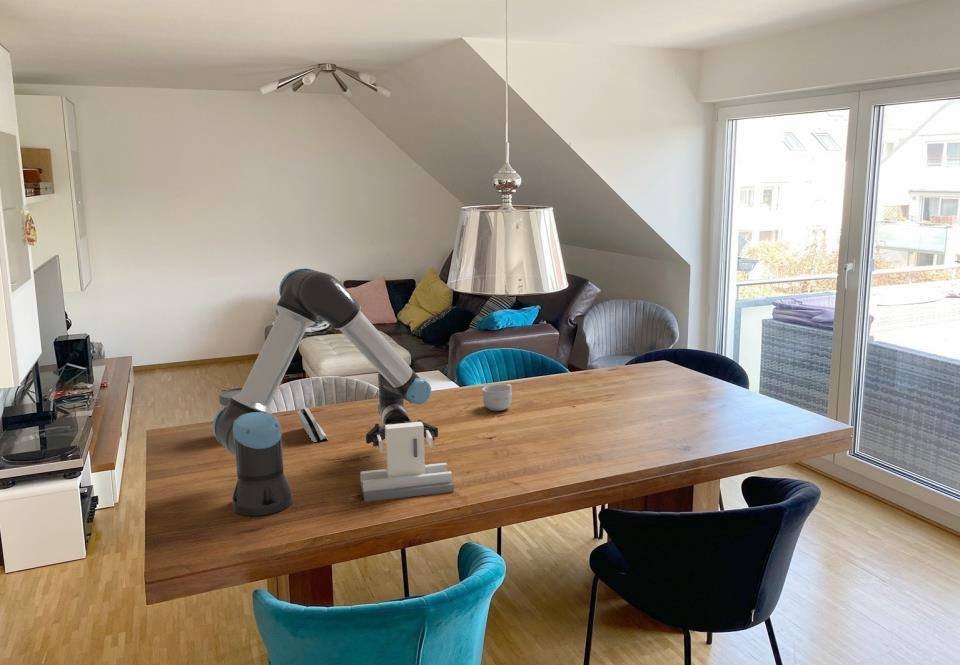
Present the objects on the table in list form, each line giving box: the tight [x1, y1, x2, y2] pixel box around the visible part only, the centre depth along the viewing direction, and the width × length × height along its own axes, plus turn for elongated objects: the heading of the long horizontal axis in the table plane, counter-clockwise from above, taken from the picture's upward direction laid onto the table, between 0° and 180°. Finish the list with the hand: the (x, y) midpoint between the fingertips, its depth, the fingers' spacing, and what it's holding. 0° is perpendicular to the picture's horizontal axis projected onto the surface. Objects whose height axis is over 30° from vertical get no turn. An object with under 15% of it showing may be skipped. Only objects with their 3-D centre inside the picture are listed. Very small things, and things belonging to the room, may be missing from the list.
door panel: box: [384, 421, 426, 478], centre depth 208 cm, size 10×4×16 cm, turn 104°
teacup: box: [481, 383, 513, 412], centre depth 279 cm, size 14×11×8 cm
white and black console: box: [296, 407, 329, 443], centre depth 252 cm, size 17×5×10 cm, turn 24°
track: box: [359, 462, 455, 503], centre depth 210 cm, size 24×12×4 cm, turn 104°
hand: (406, 445), depth 207 cm, fingers open, 13 cm apart
